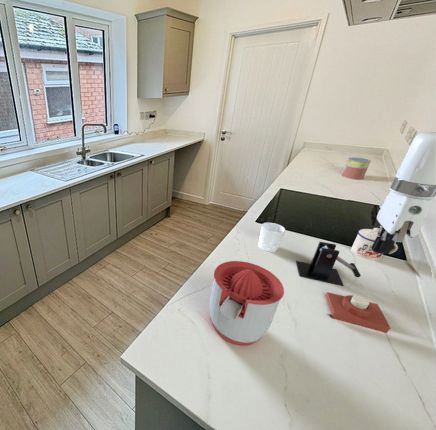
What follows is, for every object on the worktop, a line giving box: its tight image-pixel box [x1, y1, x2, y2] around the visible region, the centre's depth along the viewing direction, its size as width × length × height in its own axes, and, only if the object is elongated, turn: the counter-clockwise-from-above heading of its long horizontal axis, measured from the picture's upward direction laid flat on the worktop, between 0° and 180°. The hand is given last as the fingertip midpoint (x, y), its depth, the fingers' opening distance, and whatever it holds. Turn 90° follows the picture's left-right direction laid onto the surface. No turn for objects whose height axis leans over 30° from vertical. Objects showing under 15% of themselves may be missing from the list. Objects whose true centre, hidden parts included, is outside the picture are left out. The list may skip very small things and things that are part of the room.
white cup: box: [257, 222, 286, 253], centre depth 103 cm, size 8×8×10 cm
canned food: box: [342, 157, 372, 180], centre depth 178 cm, size 11×11×12 cm
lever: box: [320, 245, 362, 278], centre depth 85 cm, size 12×6×2 cm
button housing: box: [325, 291, 391, 334], centre depth 74 cm, size 12×9×4 cm
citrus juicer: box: [209, 260, 285, 347], centre depth 67 cm, size 16×17×20 cm
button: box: [350, 295, 370, 309], centre depth 73 cm, size 4×4×2 cm
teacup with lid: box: [350, 227, 399, 261], centre depth 97 cm, size 12×9×12 cm
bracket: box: [295, 241, 345, 287], centre depth 88 cm, size 12×9×12 cm
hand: (379, 251), depth 70 cm, fingers closed
